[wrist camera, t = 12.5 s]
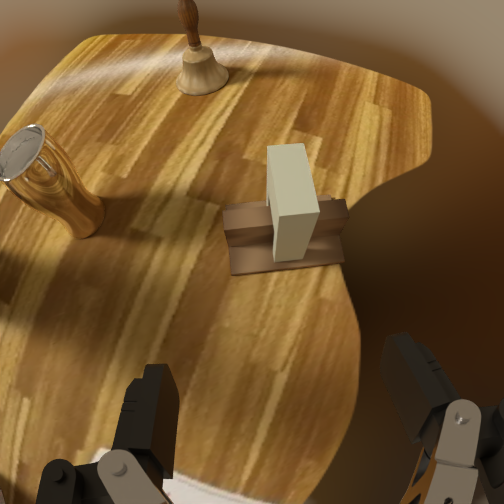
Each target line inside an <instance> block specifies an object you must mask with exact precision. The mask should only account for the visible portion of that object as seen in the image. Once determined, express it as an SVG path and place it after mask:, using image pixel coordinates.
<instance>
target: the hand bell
mask: <svg viewBox="0 0 504 504" xmlns="http://www.w3.org/2000/svg"><path fill="white" fill-rule="evenodd" d="M178 16H179V19H180V21H181V23H182V25H183V27H184V28H185V30H186V32H187V37H188V42H189V46H190V48H189V49H188V50H186V51H185V52H184V54H183V57H182V58H183V69H182V71H181V72H180V74H179V75H178V77H177V80H176V85H177V88H178V89H179V90H180V91H181V92H183V93H185V94H188V95H205V94H209V93H212V92H215V91H217V90H218V89H220V88H221V87H223V86H224V85H225V84H226V82H227V81H228V78H229V73H228V71H227V69H226V68H225V67H224V66H223V65H221V64H219V63H217V61H216V60H215V57H214V55H213V51H212V50H211V48H209V47H207V46H202V45H201V41H200V38H199V34H198V29H197V27H198V20H199V19H198V10H197V6H196V4H195V2H194V1H193V0H179V2H178Z"/></svg>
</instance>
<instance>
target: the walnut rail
mask: <svg viewBox="0 0 504 504" xmlns="http://www.w3.org/2000/svg"><path fill="white" fill-rule="evenodd" d="M316 197H317V201H318V206H319V210H320V213H319V216H318V219H317V222H316V224H315V227H314V230H313V233H312V235H311V238H310V241H309V244H308V246H307V249H306V252H305V254H304V257H303V259H299V260H290V261H282V262H274V257H273V242H274V227H273V220H272V213H271V206H267V201H257V202H248V203H239V204H231V205H225V207H226V211H223V224H224V232H225V235H226V239H227V242H228V246H229V255H230V266H231V275H232V276H234V275H243V274H252V273H261V272H270V271H279V270H287V269H296V268H304V267H313V266H321V265H329V264H337V263H344V261H345V259H344V254H343V249H342V244H341V240H340V233H341V231H342V229H343V227H344V226H345V224H346V222H347V221H348V219H349V214H348V209H347V205H346V201H345V199H337V200H331V195H320V196H316Z"/></svg>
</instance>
